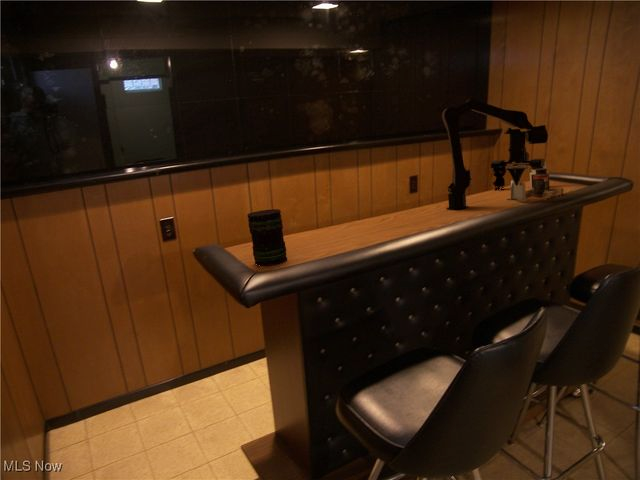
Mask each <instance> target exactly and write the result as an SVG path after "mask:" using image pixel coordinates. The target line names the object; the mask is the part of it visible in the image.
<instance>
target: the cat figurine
mask: <svg viewBox="0 0 640 480" xmlns="http://www.w3.org/2000/svg"><path fill="white" fill-rule="evenodd" d="M506 169H507V166H503V167H499V168H492V173H493V174H492V173H491V176H490V177H495V178H496V179H495V181H493V182H492V185H493V186H494V187H495V188H494V191H498V190H497V189H501V190H500V191H503V190H502V188H504V189H505V187H504V186H505V185H506V183H505V182H506V180H505V175H506V174H507V170H506Z"/></svg>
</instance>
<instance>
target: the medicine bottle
mask: <svg viewBox="0 0 640 480" xmlns="http://www.w3.org/2000/svg"><path fill="white" fill-rule="evenodd" d="M541 168H546V169H547V162H546V161H545V166H542V167H531V172H529V189H533V188H534V187H533V176H534V175H535V174H536V169H541ZM547 173H548V174H549V175H550V173H549V172H548V171H547Z"/></svg>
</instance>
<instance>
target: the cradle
mask: <svg viewBox="0 0 640 480" xmlns="http://www.w3.org/2000/svg"><path fill="white" fill-rule="evenodd" d="M525 191H526V198H528V197H532V196H533V197H534V189H531V188H529V189H527V190H526V189H525ZM561 194H563V195H564V188H556V187H555V188H554V187H550V191H549V192H545V193H543V197H542V200H547V199H546V198H549V197H553V196H556V197H558V196H557V195H560V196H562V195H561ZM553 198H554V197H553ZM549 199H550V198H549Z"/></svg>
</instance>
